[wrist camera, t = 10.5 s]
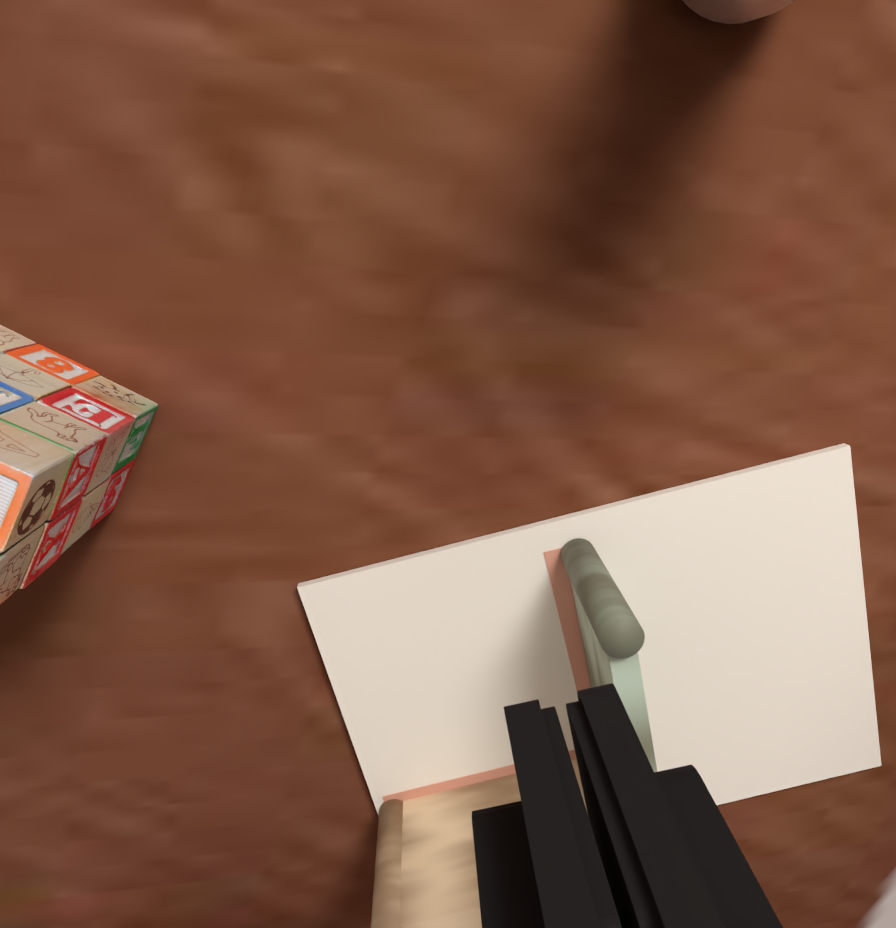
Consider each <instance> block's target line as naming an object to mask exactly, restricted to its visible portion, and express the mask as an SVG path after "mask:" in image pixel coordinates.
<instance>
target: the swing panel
mask: <svg viewBox="0 0 896 928" xmlns="http://www.w3.org/2000/svg"><path fill="white" fill-rule="evenodd" d="M560 557H561V561H562V563H563V565H564V567H565V570H566V572H567V574H568V576H569V578H570V580H571V584H572V589H573V595H574V600H575V605H576V611H577V616H578V621H579V627H580V632H581V637H582V642H583V648H584V653H585V658H586V664H587V669H588V674H589V679H590V685H591V688H593V687H597V686H602V685H606V684H611V683H613V684H614V686H615V688H616V690H617V692H618V694H619V696H620V699H621V701H622V703H623V705H624V707H625V709H626V712H627V714H628V716H629V718H630V720H631V723H632V725H633V727H634V729H635V731H636V734H637V736H638V738H639V740H640V742H641V745H642V747H643V749H644V751H645V753H646V755H647V758H648V760H649V762H650V764H651V766H652V769H653V771H654V772H657V766H656V760H655V754H654V748H653V742H652V736H651V730H650V724H649V718H648V712H647V705H646V699H645V693H644V687H643V681H642V675H641V669H640V663H639V657H638V651H639V650H640V649H641V648H642V646H643V644H644V640H645V634H644V631H643V629H642V627H641V625H640V624H639V622H638V620H637V619H636V617H635V615H634V614H633V612H632V610H631V609H630V607H629V605H628V604H627V602H626V600H625V599H624V597H623V595H622V594H621V592H620V590H619V588H618V587H617V585H616V583H615V582H614V580H613V578H612V577H611V575H610V573H609V572H608V570H607V568H606V567H605V565H604V563H603V562H602V560H601V558H600V557H599V555H598V553H597V552H596V550H595V548H594V547H593V545H592V544H591V543H590V542H589V541H588V540H585V539H582V538H576V539H572V540H570V541H568V542H567V543H566V544H565V545H564V546H563V548H562V550H561V554H560Z"/></svg>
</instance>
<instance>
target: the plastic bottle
mask: <svg viewBox="0 0 896 928" xmlns="http://www.w3.org/2000/svg"><path fill="white" fill-rule="evenodd" d="M682 1H683V2H684V3H685V4H686V5H687V6H688V7H689V8H690V9H691V10H693V11H694V12H696V13H697V14H698V15H700V16H701V17H704V18H706V19H709V20H711V21H714V22H719V23H725V24H737V23H745V22H748V21H752V20H755V19H758V18H761V17H765V16H768V15H771V14H774V13H776V12H778V11H780V10H781V9H783V8H785V7H787V6H789V5H790V4H791V3H792V2H793V1H795V0H682Z"/></svg>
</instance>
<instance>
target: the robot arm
mask: <svg viewBox="0 0 896 928" xmlns="http://www.w3.org/2000/svg"><path fill="white" fill-rule="evenodd" d="M577 696H578V701H576V702H571V703H567V704H566V709H567V714H568V719H569V724H570V729H571V734H572V739H573V744H574V749H575V754H576V759H577V764H578V769H579V774H580V779H581V784H582V788H583V793H584V798H585V803H586V807H585V804H584V801H583V797H582V794H581V791H580V787H579V784H578V781H577V778H576V774H575V771H574V768H573V764H572V761H571V758H570V754H569V751H568V748H567V745H566V741H565V738H564V735H563V731H562V728H561V725H560V721H559V718H558V715H557V712H556V708H555V706H553V707H548V708H544V709H541V707H540V703H539V700H538V699H537V700H532V701H528V702H523V703H519V704H514V705H509V706H505V707H504V713H505V718H506V723H507V729H508V734H509V739H510V744H511V750H512V755H513V760H514V766H515V771H516V776H517V781H518V787H519V792H520V797H521V801H518V802H513V803H508V804H504V805H499V806H494V807H490V808H485V809H480V810H475V811H472V828H473V838H474V849H475V860H476V870H477V881H478V891H479V902H480V912H481V923H482V928H783V927H782V925H781V923H780V922H779V920H778V918H777V916H776V914H775V912H774V911H773V909H772V907H771V905H770V903H769V901H768V899H767V898H766V896H765V894H764V892H763V890H762V888H761V887H760V885H759V883H758V881H757V879H756V877H755V876H754V874H753V872H752V870H751V868H750V866H749V864H748V863H747V861H746V859H745V857H744V855H743V853H742V852H741V850H740V848H739V846H738V844H737V842H736V840H735V839H734V837H733V835H732V833H731V831H730V829H729V828H728V826H727V824H726V822H725V820H724V818H723V817H722V815H721V813H720V811H719V809H718V807H717V805H716V804H715V802H714V800H713V798H712V796H711V794H710V793H709V791H708V789H707V787H706V785H705V783H704V781H703V780H702V778H701V776H700V774H699V773H698V771H697V770H696V768H695V767H694V766H693V765H692V764H691V765H687V766H682V767H677V768H673V769H668V770H663V771H659V772H654V771H653V769H652V766H651V764H650V762H649V760H648V758H647V755H646V753H645V751H644V749H643V747H642V745H641V742H640V740H639V738H638V736H637V734H636V731H635V729H634V727H633V725H632V723H631V720H630V718H629V716H628V714H627V712H626V709H625V707H624V705H623V703H622V701H621V699H620V696H619V694H618V692H617V690H616V688H615V686H614V684H613V683H611V684H606V685H602V686H597V687H593V688H588V689H583V690H579V691H577ZM586 808H587V811H586ZM587 813H588V814H587Z"/></svg>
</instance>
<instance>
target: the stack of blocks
mask: <svg viewBox="0 0 896 928" xmlns="http://www.w3.org/2000/svg"><path fill="white" fill-rule="evenodd" d="M157 407H158V404H157V403H155V402H153V401H151V400H149V399H147V398H145V397H143V396H141V395H139V394H137V393H135V392H133V391H131V390H129V389H127V388H125V387H123V386H120V385H118V384H116V383H114V382H112V381H110V380H108V379H106V378H104V377H102V376H100V375H99V374H98V373H97V372H96V371H94V370H91V369H89V368H87V367H85V366H83V365H81V364H79V363H77V362H75V361H73V360H71V359H69V358H67V357H65V356H63V355H60V354H58V353H56V352H54V351H52V350H50V349H48V348H46V347H44V346H42V345H40V344H37V343H35V342H34V341H32V340H30V339H28V338H26V337H24V336H22V335H20V334H18V333H16V332H14V331H12V330H10V329H8V328H6V327H4V326H2V325H0V604H1V603H3V602H4V601H5V600H6V599H7V598H8V597H9V596H11V595H12V594H13V593H14V592H15V591H16V590H17V589H18V588H20V589H24V588H25V587H27V586H28V585H29V584H30V583H31V582H33V581H34V580H35V579H36V578H37V577H38V576H39V575H41V574H42V573H43V572H44V570H46V569H47V568H49V567H50V566H51V565H52V564H53V563H54V562H55V561H56V560H57V559H58V558H59V556H60V555H61V554H62V553H63V552H65V551H66V550H67V549H68V548H69V547H70V546H71V545H72V544H73V543H74V542H76V541H77V540H78V539H79V538H80V537H81V536H82V535H83V534H84V533H85V532H86V531H87V530H90V529H91V528H93V527H94V526H95V525H96V524H97V523H98V522H100V520H101V519H103V518H104V517H105V516H106V515H108V514H109V513H110V512H111V511H112V510H113V509H114V508H115V506H116V503H117V501H118V499H119V496H120V494H121V492H122V490H123V487H124V485H125V483H126V480H127V478H128V476H129V473H130V471H131V469H132V466H133V464H134V462H135V457H136V455H137V452H138V450H139V448H140V445H141V443H142V441H143V439H144V436H145V434H146V432H147V430H148V427H149V425H150V423H151V421H152V418H153V416H154V414H155V412H156V410H157Z"/></svg>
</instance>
